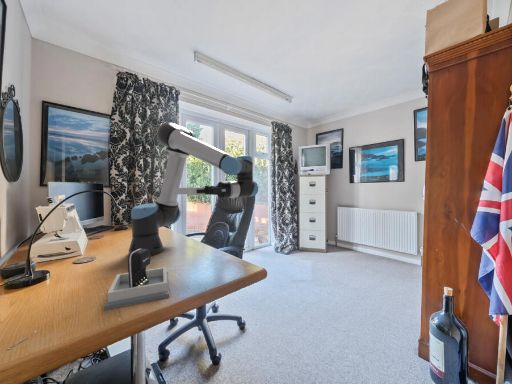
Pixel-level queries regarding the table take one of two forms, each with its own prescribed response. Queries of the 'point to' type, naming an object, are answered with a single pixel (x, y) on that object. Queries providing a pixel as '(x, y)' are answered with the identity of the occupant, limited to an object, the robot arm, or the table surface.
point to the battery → (138, 267)
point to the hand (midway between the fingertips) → (180, 191)
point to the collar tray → (138, 289)
